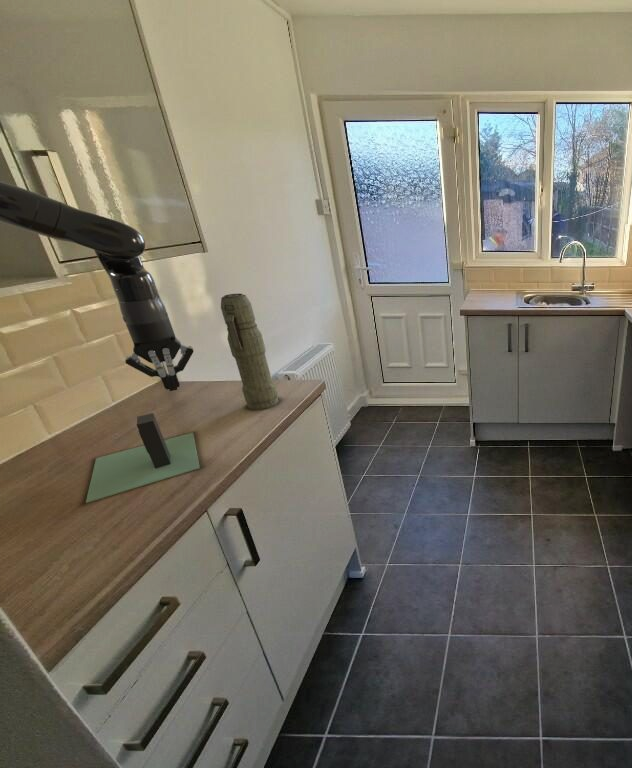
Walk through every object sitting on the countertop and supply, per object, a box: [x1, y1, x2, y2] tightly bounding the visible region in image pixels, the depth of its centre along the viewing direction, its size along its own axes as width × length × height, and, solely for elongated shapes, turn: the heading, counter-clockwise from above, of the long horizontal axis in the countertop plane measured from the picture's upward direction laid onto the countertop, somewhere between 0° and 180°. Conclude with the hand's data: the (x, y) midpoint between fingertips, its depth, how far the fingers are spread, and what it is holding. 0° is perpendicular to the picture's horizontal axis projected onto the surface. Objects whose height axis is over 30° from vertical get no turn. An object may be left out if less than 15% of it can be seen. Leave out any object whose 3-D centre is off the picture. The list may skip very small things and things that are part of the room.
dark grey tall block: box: [136, 412, 171, 468], centre depth 99 cm, size 3×5×12 cm, turn 39°
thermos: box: [220, 293, 280, 411], centre depth 125 cm, size 9×12×35 cm
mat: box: [85, 432, 201, 504], centre depth 102 cm, size 20×22×1 cm
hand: (173, 389), depth 99 cm, fingers closed
